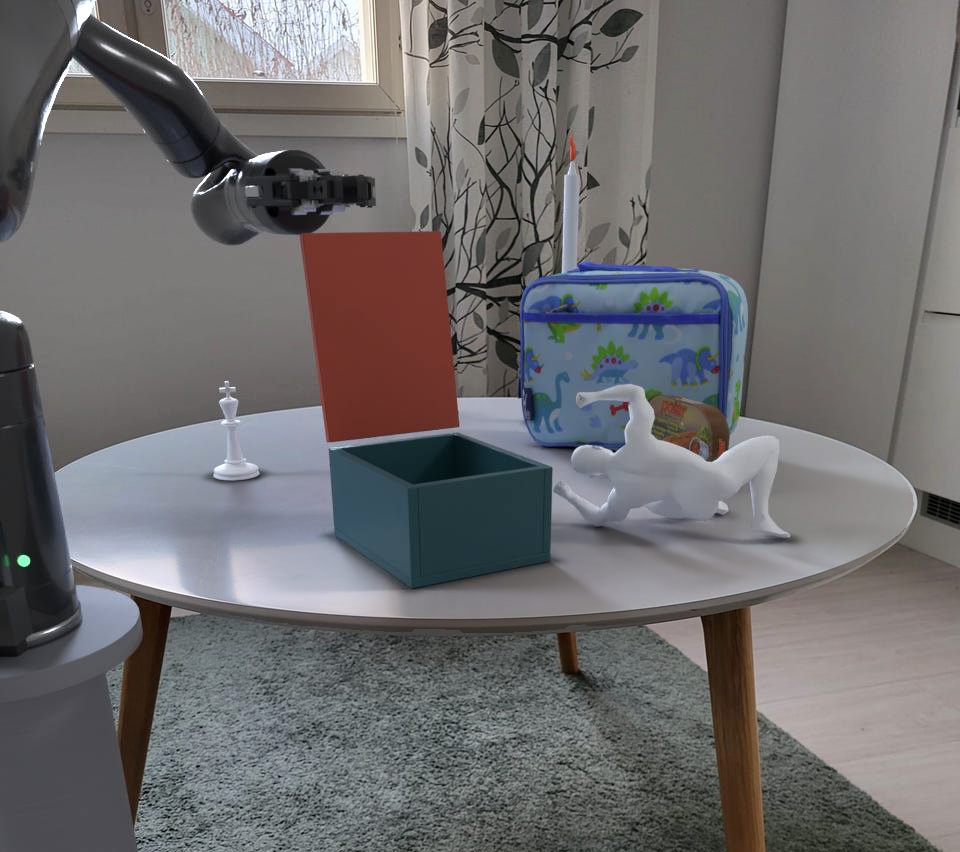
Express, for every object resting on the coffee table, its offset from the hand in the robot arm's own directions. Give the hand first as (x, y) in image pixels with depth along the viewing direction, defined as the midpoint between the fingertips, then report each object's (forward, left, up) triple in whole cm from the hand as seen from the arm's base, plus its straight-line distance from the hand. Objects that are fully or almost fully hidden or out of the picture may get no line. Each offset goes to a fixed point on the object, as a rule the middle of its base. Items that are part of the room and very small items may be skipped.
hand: (349, 189), depth 83 cm
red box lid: (-5, -3, -11) cm, 13 cm away
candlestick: (+43, -19, -28) cm, 55 cm away
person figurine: (-7, -28, -28) cm, 41 cm away
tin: (+13, -31, -28) cm, 44 cm away
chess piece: (+12, +17, -28) cm, 35 cm away
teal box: (-12, -8, -28) cm, 32 cm away
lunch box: (+28, -26, -28) cm, 47 cm away
